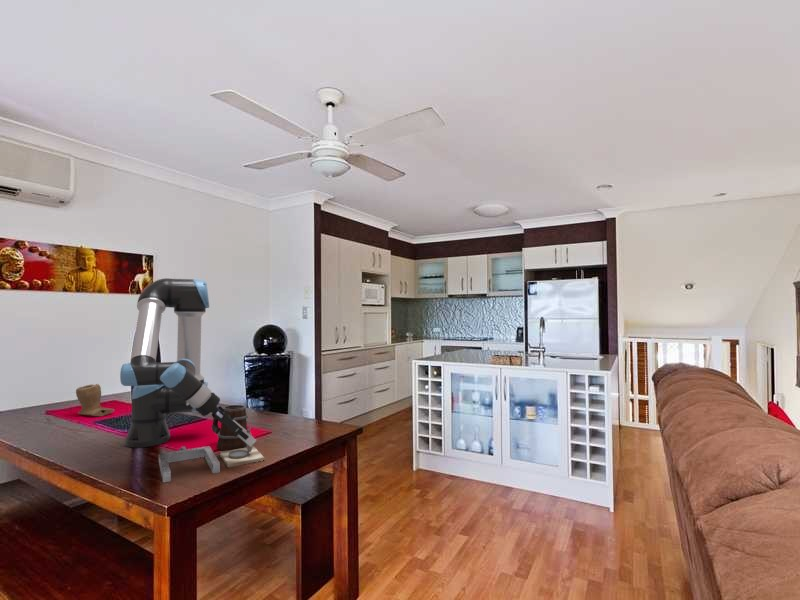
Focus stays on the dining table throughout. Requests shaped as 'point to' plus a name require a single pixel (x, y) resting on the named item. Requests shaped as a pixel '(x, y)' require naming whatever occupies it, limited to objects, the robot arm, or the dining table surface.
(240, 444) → the mug
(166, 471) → the u-shaped metal frame
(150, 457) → the dining table surface
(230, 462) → the ash board
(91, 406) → the tan upright piece
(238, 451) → the pocket watch
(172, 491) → the dining table surface
